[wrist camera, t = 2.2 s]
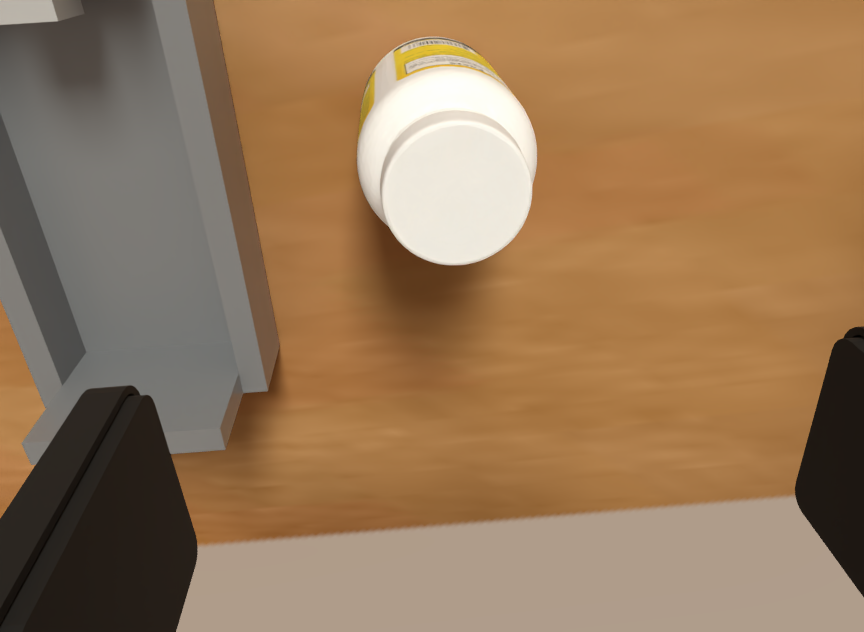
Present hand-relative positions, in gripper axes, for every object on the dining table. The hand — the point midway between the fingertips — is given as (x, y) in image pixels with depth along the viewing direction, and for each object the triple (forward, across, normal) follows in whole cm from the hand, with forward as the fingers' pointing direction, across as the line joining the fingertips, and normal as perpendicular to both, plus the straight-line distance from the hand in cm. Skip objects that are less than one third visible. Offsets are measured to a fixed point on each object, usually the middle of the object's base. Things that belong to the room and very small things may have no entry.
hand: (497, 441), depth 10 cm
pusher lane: (+19, +12, 0) cm, 23 cm away
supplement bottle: (+20, 0, 0) cm, 20 cm away
